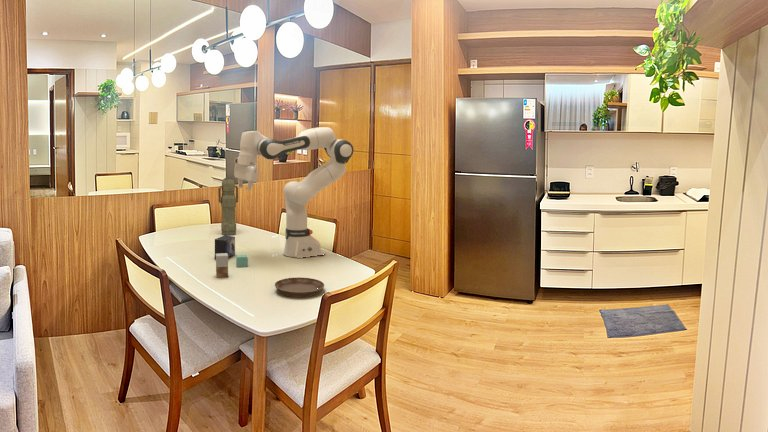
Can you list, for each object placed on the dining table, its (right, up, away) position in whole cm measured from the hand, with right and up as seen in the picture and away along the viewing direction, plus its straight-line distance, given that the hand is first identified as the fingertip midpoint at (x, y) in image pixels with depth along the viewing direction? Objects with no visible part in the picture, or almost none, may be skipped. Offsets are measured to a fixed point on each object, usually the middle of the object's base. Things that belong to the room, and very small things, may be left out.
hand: (244, 188), depth 262 cm
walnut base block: (-3, -41, -27) cm, 49 cm away
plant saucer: (+35, -46, -44) cm, 72 cm away
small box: (-11, -35, +5) cm, 38 cm away
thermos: (-26, -25, +61) cm, 71 cm away
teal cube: (+1, -38, -9) cm, 39 cm away
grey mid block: (-3, -36, -28) cm, 46 cm away
